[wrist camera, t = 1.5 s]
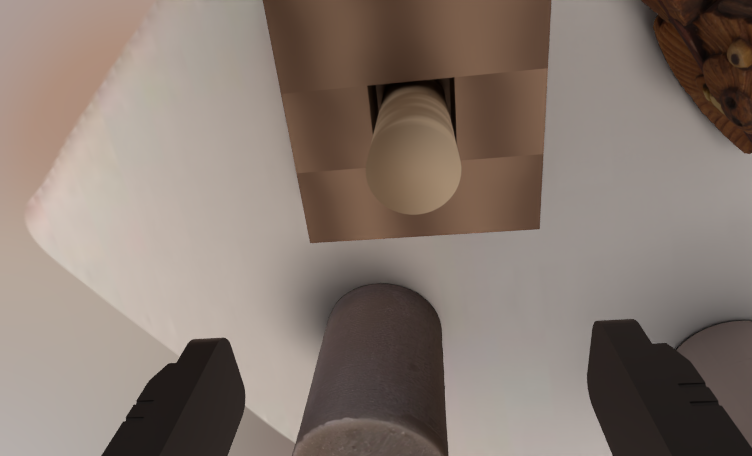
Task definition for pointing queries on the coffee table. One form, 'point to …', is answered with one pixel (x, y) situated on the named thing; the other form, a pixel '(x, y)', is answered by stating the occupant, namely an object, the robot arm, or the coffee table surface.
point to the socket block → (404, 64)
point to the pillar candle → (377, 379)
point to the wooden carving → (711, 59)
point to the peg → (413, 149)
